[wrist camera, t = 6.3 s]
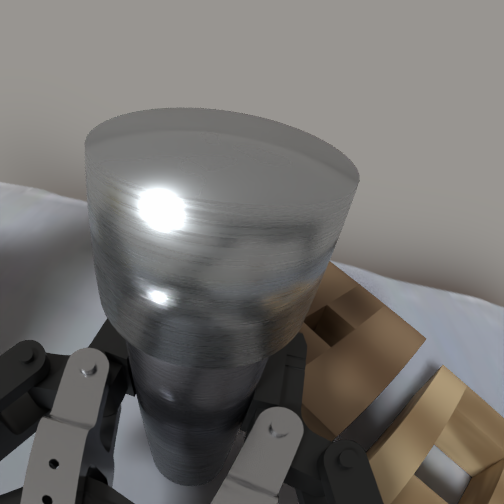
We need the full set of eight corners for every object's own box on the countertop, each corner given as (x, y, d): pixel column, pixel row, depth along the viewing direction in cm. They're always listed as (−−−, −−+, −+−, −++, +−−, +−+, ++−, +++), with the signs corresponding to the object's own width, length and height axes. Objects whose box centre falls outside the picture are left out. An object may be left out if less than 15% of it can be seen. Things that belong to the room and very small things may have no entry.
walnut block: (307, 288, 26) (320, 254, 24) (401, 369, 20) (426, 338, 18) (202, 339, 20) (207, 301, 18) (311, 459, 14) (336, 436, 12)
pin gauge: (199, 404, 16) (246, 106, 8) (249, 465, 14) (404, 182, 5) (129, 438, 14) (64, 119, 5) (177, 507, 11) (156, 246, 2)
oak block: (414, 394, 19) (442, 364, 17) (500, 469, 13) (534, 446, 11) (322, 494, 13) (352, 478, 11) (435, 583, 7) (478, 576, 5)
